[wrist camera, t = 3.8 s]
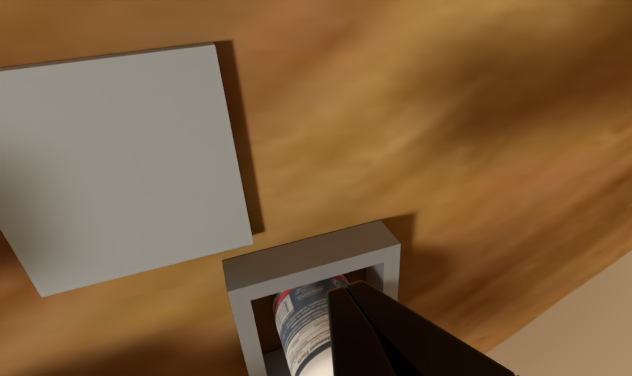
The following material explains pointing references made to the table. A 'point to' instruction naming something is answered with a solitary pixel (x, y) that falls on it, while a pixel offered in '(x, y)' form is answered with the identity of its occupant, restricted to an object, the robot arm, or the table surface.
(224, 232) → the rubber mat
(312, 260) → the grey square frame
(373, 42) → the table surface
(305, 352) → the pill bottle
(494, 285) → the table surface
